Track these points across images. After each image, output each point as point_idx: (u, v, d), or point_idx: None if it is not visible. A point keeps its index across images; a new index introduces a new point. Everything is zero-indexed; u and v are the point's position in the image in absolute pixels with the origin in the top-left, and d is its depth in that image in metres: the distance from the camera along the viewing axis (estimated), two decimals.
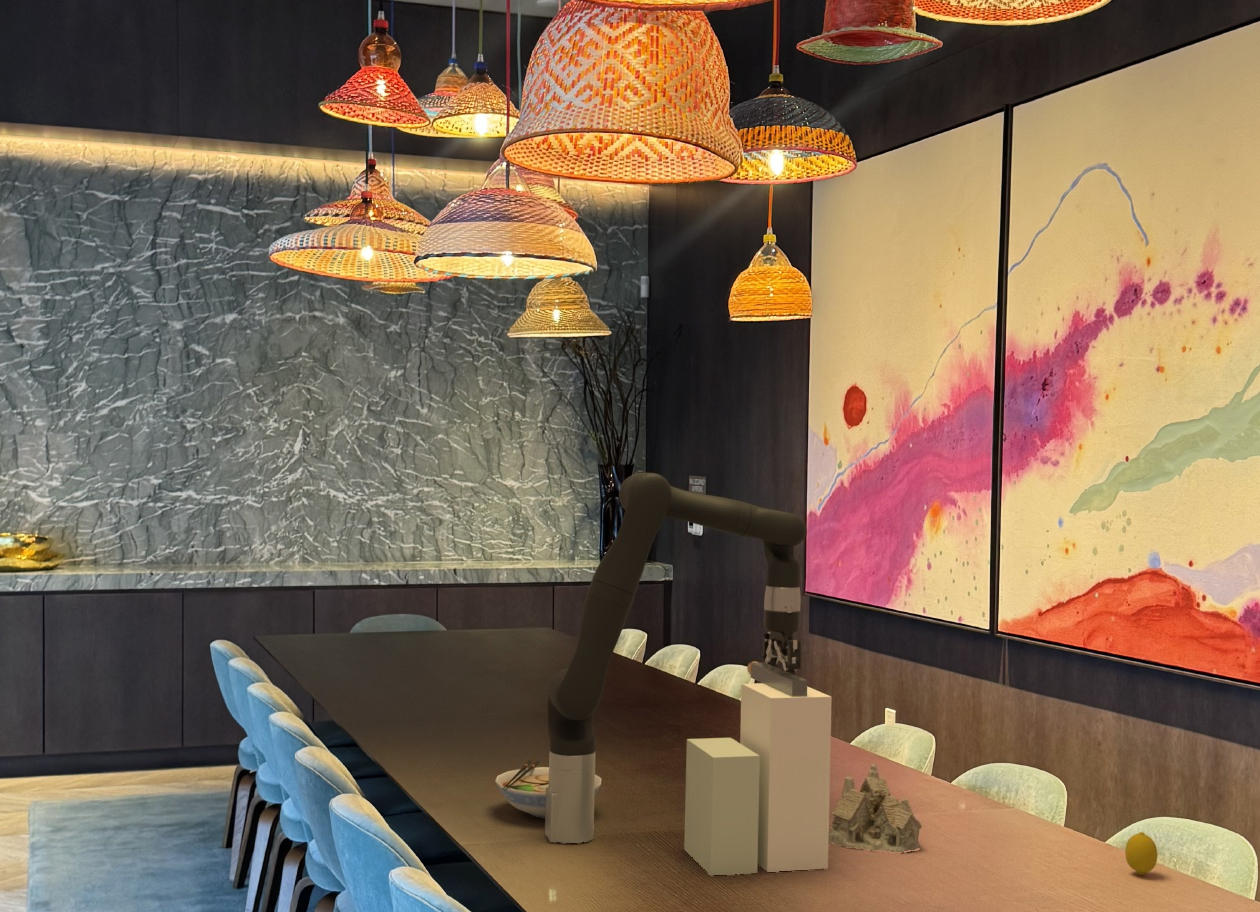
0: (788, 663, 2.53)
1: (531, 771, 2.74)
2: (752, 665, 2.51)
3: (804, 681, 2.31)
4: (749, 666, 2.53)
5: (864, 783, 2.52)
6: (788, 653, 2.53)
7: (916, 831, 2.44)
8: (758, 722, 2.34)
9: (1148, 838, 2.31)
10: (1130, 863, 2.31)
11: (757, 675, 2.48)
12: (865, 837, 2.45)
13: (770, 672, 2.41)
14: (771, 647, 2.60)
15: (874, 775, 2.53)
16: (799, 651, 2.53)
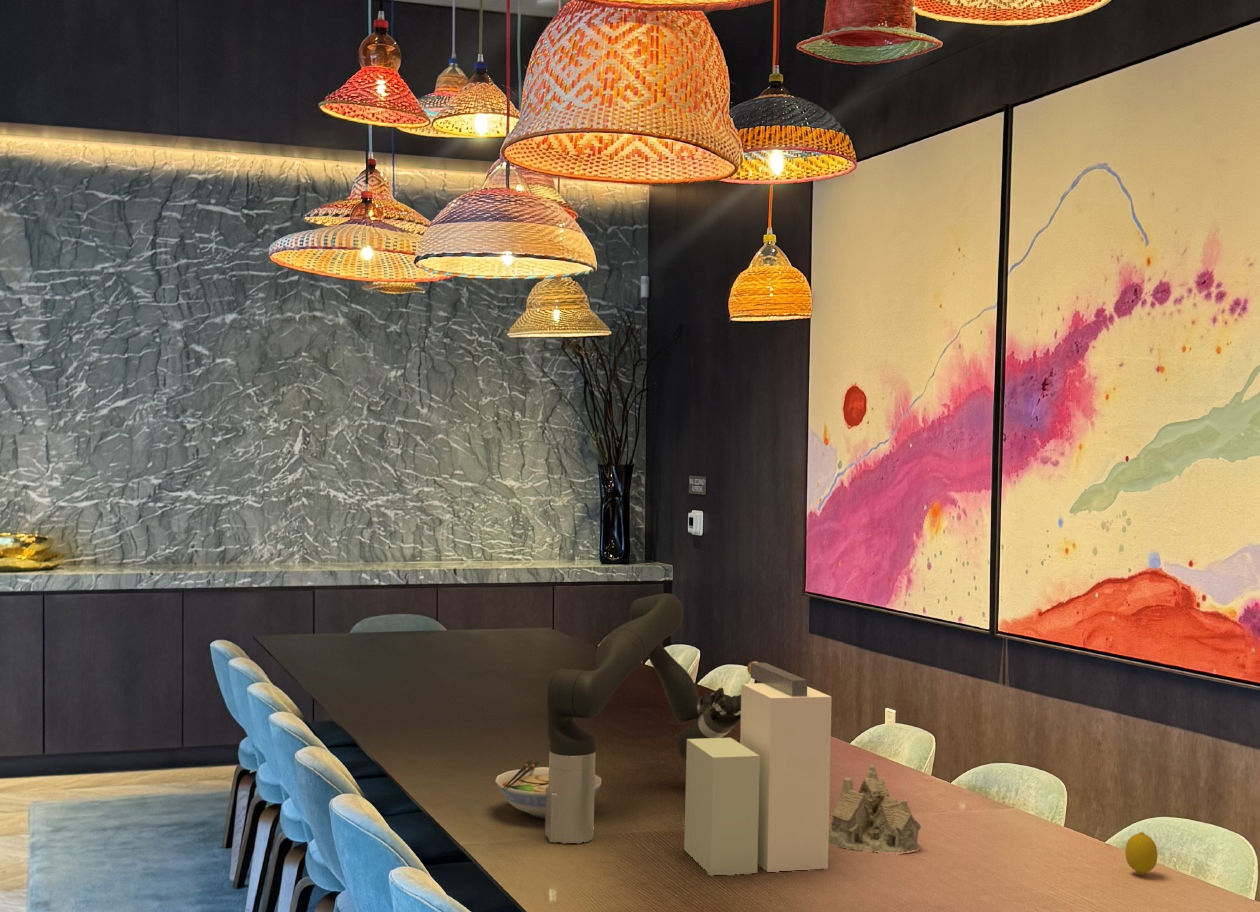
0: None
1: (531, 771, 2.74)
2: (752, 665, 2.51)
3: (804, 681, 2.31)
4: (749, 666, 2.53)
5: (863, 784, 2.51)
6: None
7: (915, 832, 2.44)
8: (758, 722, 2.34)
9: (1148, 838, 2.31)
10: (1130, 863, 2.31)
11: (757, 675, 2.48)
12: (864, 838, 2.45)
13: (770, 672, 2.41)
14: None
15: (873, 776, 2.52)
16: None
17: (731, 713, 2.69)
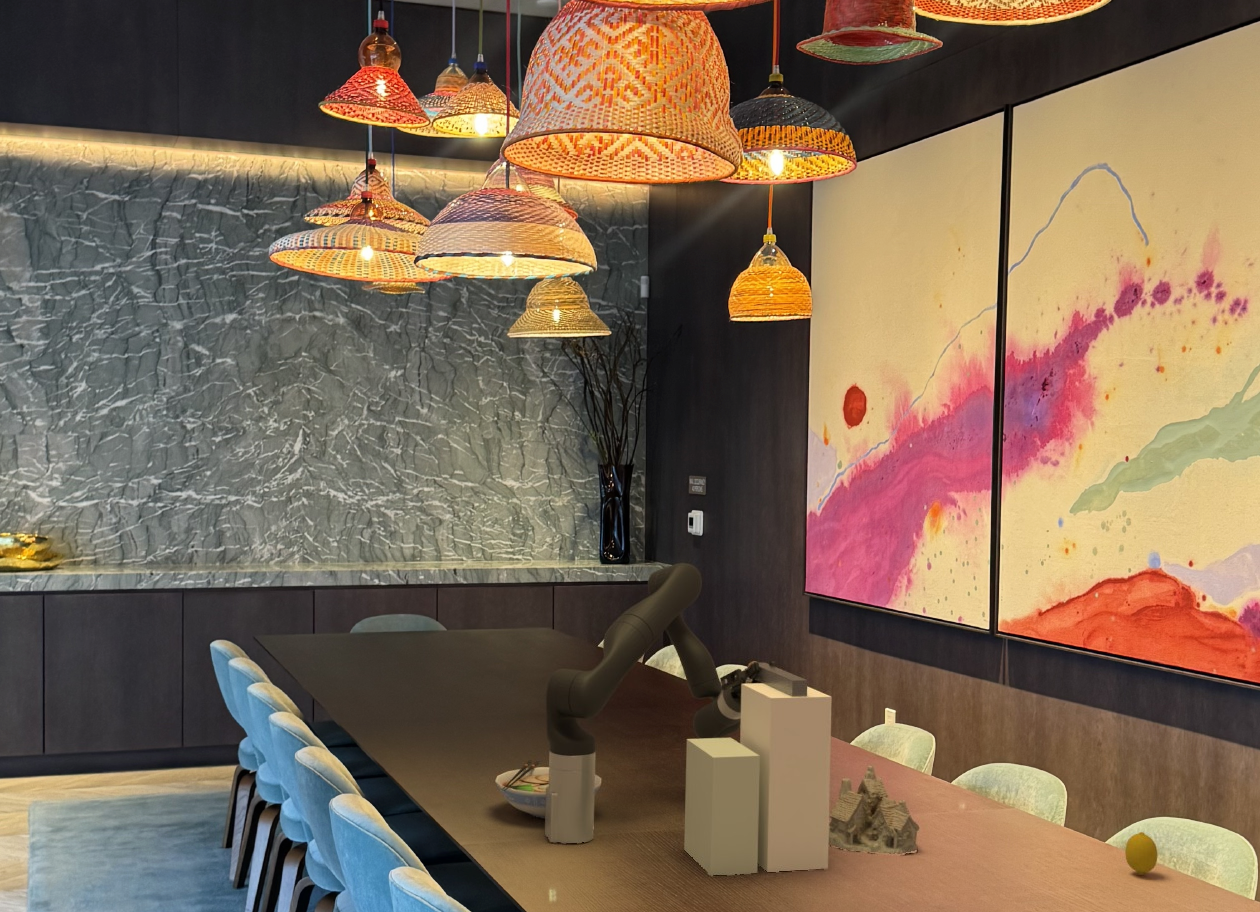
0: None
1: (531, 771, 2.74)
2: None
3: (804, 681, 2.31)
4: None
5: (861, 785, 2.51)
6: None
7: (914, 833, 2.43)
8: (758, 722, 2.34)
9: (1148, 838, 2.31)
10: (1130, 863, 2.31)
11: (757, 675, 2.48)
12: (862, 839, 2.44)
13: (770, 672, 2.41)
14: None
15: (871, 777, 2.51)
16: None
17: None
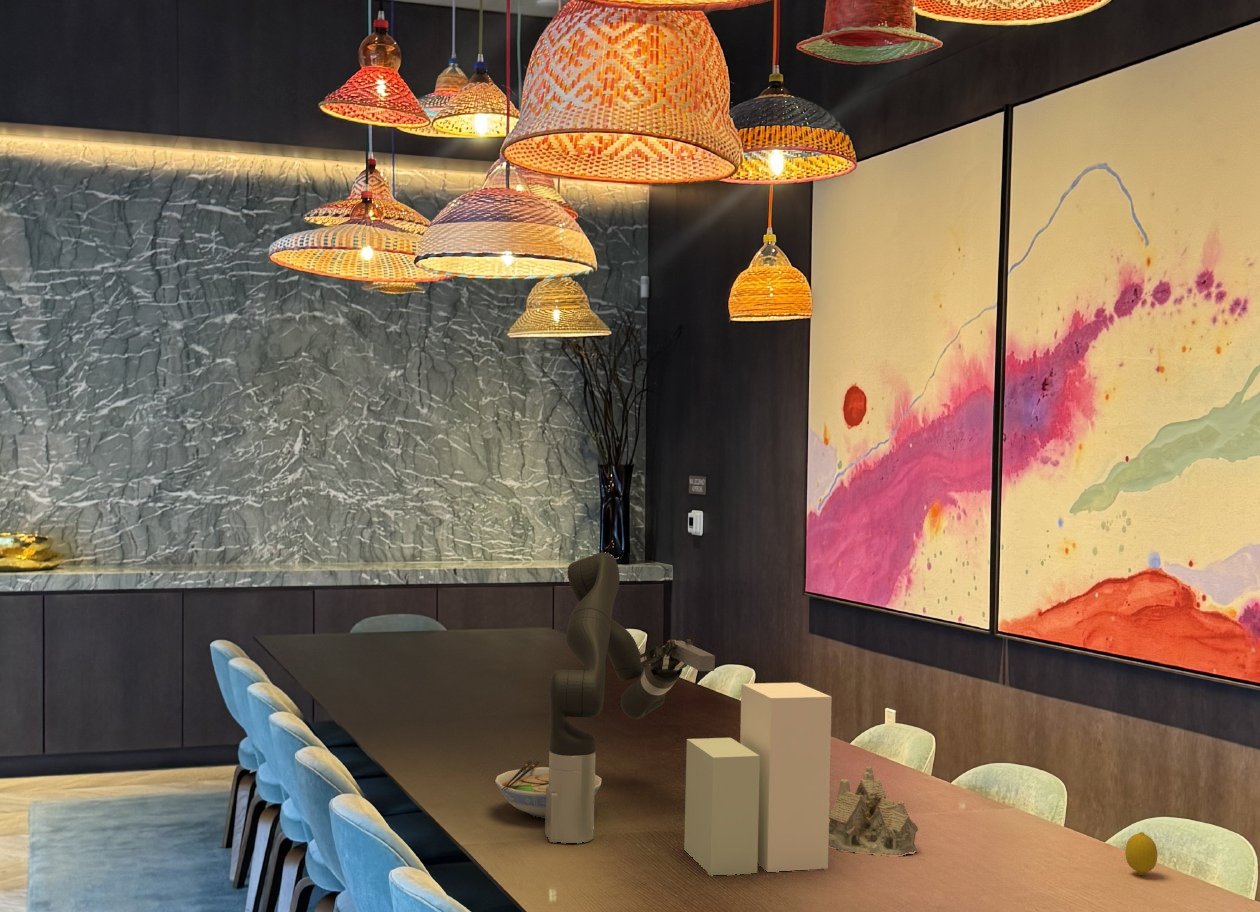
0: None
1: (531, 771, 2.74)
2: None
3: (712, 656, 2.44)
4: None
5: (860, 785, 2.50)
6: None
7: (912, 834, 2.42)
8: (758, 722, 2.34)
9: (1148, 838, 2.31)
10: (1130, 863, 2.31)
11: (673, 652, 2.61)
12: (861, 840, 2.43)
13: (683, 649, 2.54)
14: None
15: (869, 777, 2.51)
16: None
17: (672, 668, 2.70)
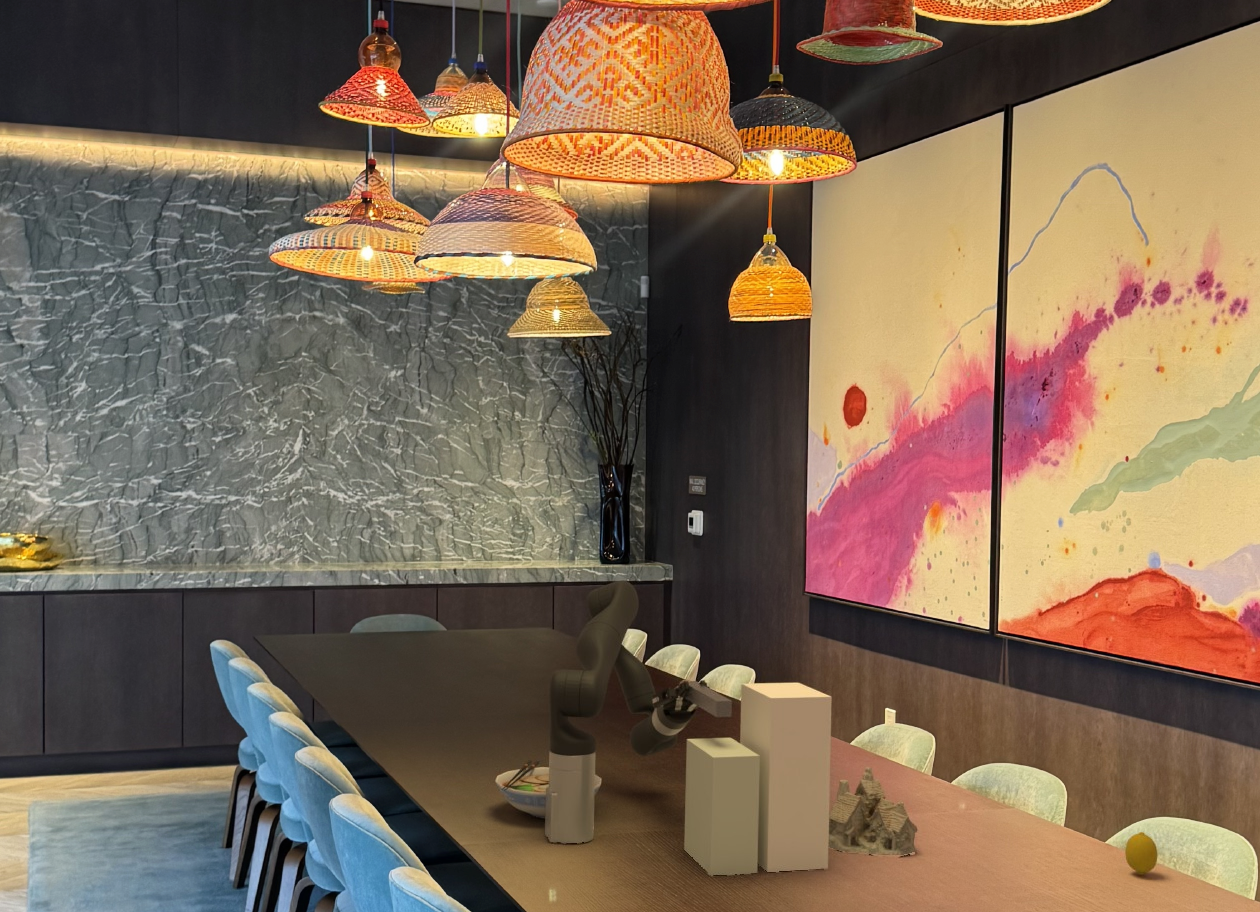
0: None
1: (531, 771, 2.74)
2: None
3: (728, 702, 2.34)
4: None
5: (859, 786, 2.49)
6: None
7: (912, 834, 2.42)
8: (758, 722, 2.34)
9: (1148, 838, 2.31)
10: (1130, 863, 2.31)
11: (687, 694, 2.51)
12: (861, 841, 2.43)
13: (698, 692, 2.44)
14: None
15: (869, 778, 2.50)
16: None
17: (685, 709, 2.60)
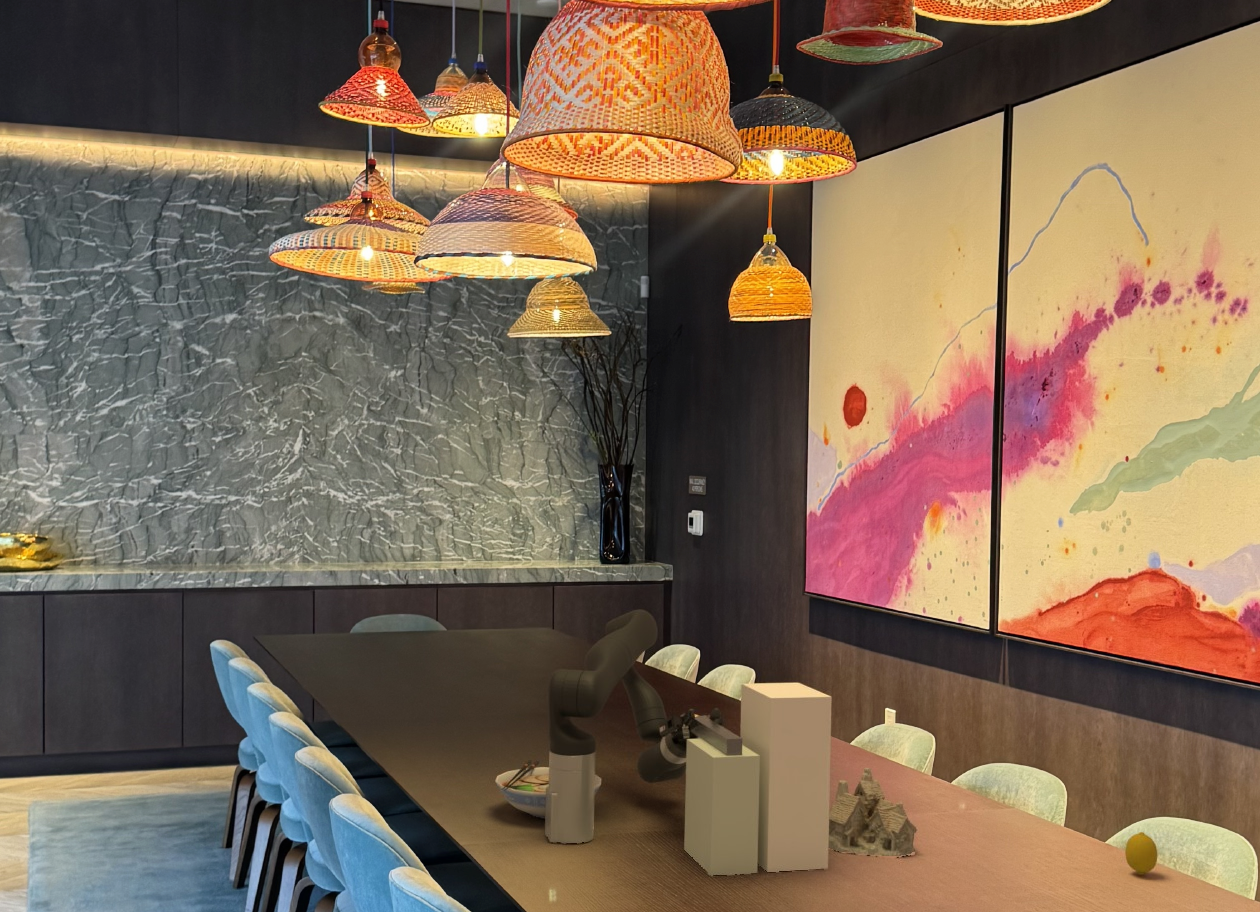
0: None
1: (531, 771, 2.74)
2: None
3: (739, 739, 2.28)
4: None
5: (858, 787, 2.49)
6: None
7: (911, 835, 2.41)
8: (758, 722, 2.34)
9: (1148, 838, 2.31)
10: (1130, 863, 2.31)
11: (695, 729, 2.45)
12: (860, 841, 2.42)
13: (707, 728, 2.38)
14: None
15: (868, 778, 2.50)
16: None
17: (694, 737, 2.54)
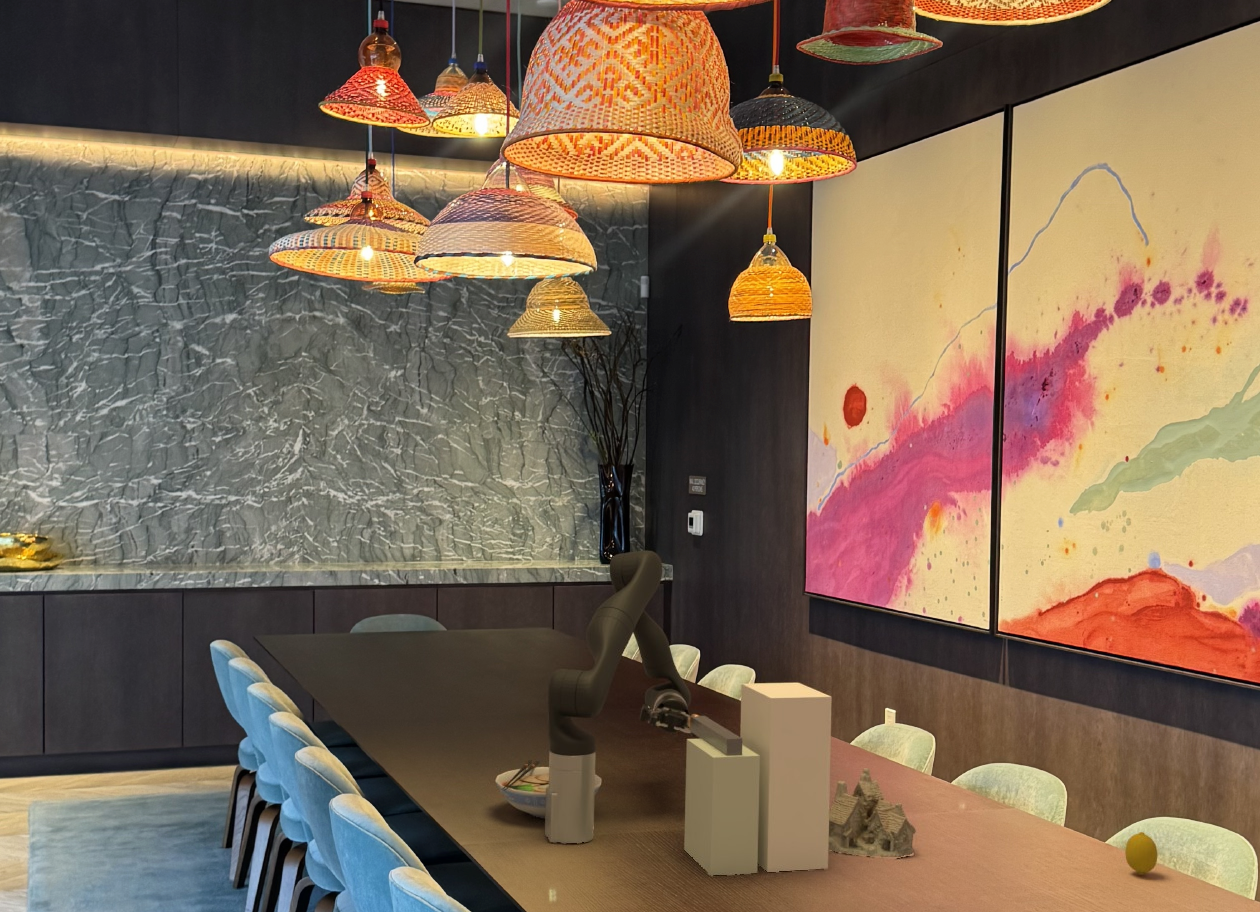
0: None
1: (531, 771, 2.74)
2: (691, 719, 2.47)
3: (739, 739, 2.28)
4: (689, 719, 2.49)
5: (857, 787, 2.48)
6: None
7: (910, 836, 2.41)
8: (758, 722, 2.34)
9: (1148, 838, 2.31)
10: (1130, 863, 2.31)
11: (695, 729, 2.45)
12: (859, 842, 2.42)
13: (707, 728, 2.38)
14: (668, 710, 2.63)
15: (867, 779, 2.49)
16: None
17: None
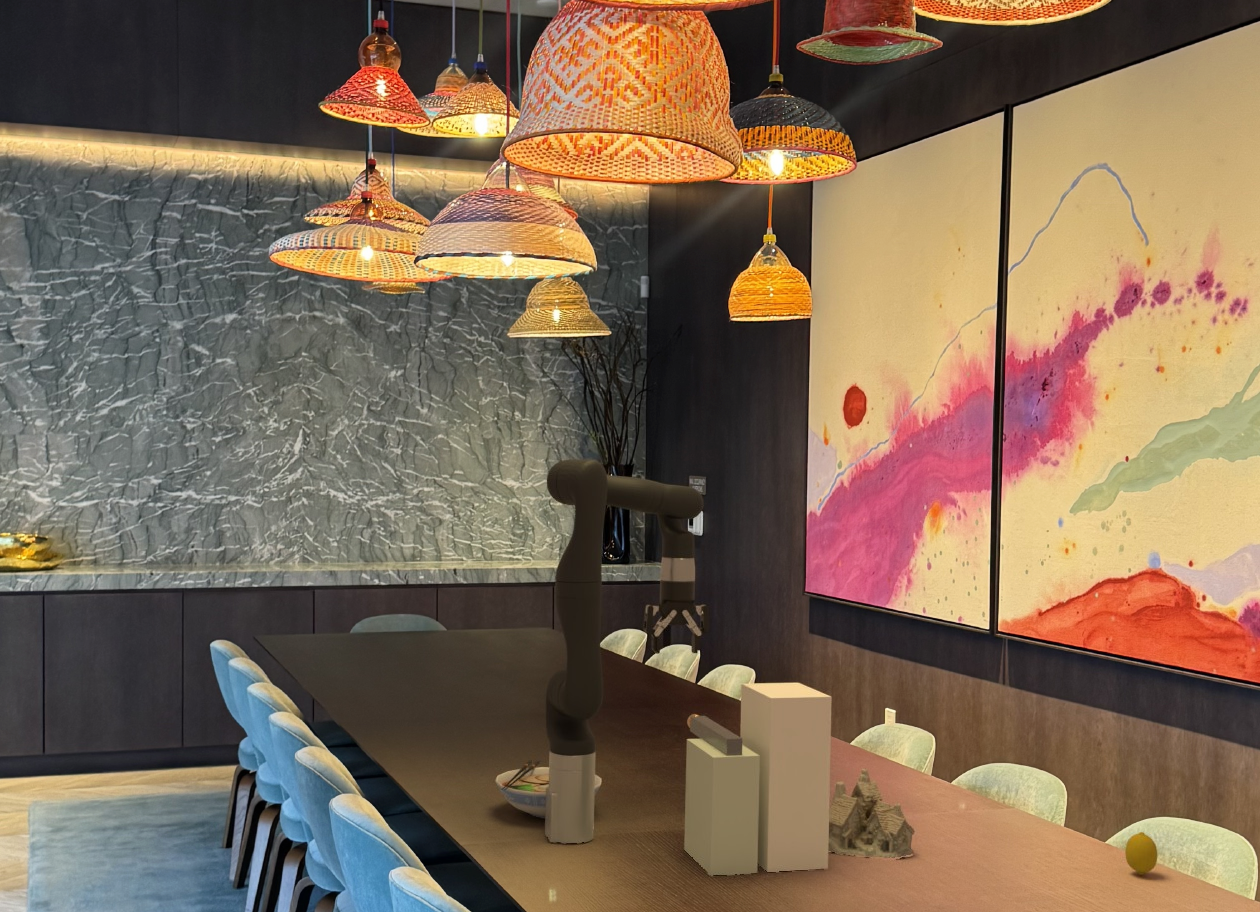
0: (706, 627, 2.70)
1: (531, 771, 2.74)
2: (691, 719, 2.47)
3: (739, 739, 2.28)
4: (689, 719, 2.49)
5: (855, 788, 2.48)
6: (704, 618, 2.70)
7: (909, 837, 2.40)
8: (758, 722, 2.34)
9: (1148, 838, 2.31)
10: (1130, 863, 2.31)
11: (695, 729, 2.45)
12: (857, 843, 2.41)
13: (707, 728, 2.38)
14: None
15: (865, 780, 2.49)
16: None
17: None
